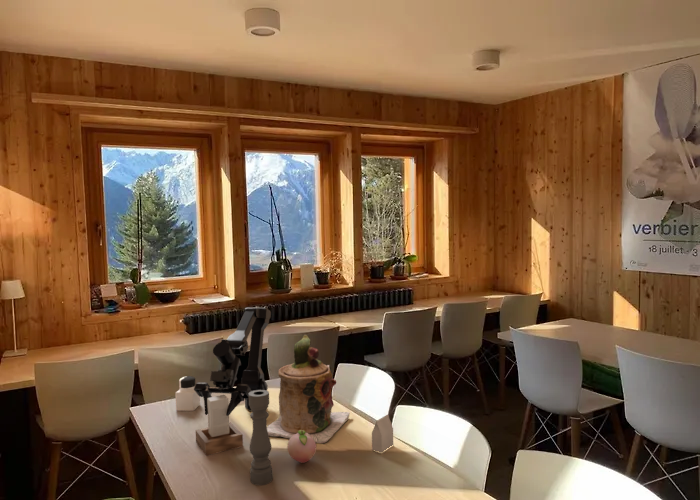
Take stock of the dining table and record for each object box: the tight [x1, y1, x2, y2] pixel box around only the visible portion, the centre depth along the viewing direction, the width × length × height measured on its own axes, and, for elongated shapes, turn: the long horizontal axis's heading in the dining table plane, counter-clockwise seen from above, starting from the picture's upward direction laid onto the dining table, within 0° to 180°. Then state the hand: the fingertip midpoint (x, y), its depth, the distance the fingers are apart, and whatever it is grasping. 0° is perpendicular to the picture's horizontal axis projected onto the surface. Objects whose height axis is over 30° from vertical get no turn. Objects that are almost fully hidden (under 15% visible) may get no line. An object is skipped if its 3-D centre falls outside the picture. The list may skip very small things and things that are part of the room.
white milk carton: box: [371, 414, 394, 452], centre depth 171 cm, size 4×7×10 cm, turn 144°
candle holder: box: [249, 389, 274, 486], centre depth 152 cm, size 6×6×25 cm
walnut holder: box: [195, 421, 244, 456], centre depth 177 cm, size 12×12×4 cm
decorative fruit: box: [286, 430, 317, 464], centre depth 162 cm, size 9×8×10 cm
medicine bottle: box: [174, 375, 201, 412], centre depth 211 cm, size 7×7×12 cm
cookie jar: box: [267, 334, 350, 444], centre depth 190 cm, size 25×25×32 cm
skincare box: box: [207, 394, 230, 437], centre depth 177 cm, size 6×4×12 cm
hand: (216, 415), depth 175 cm, fingers closed on skincare box, 7 cm apart
